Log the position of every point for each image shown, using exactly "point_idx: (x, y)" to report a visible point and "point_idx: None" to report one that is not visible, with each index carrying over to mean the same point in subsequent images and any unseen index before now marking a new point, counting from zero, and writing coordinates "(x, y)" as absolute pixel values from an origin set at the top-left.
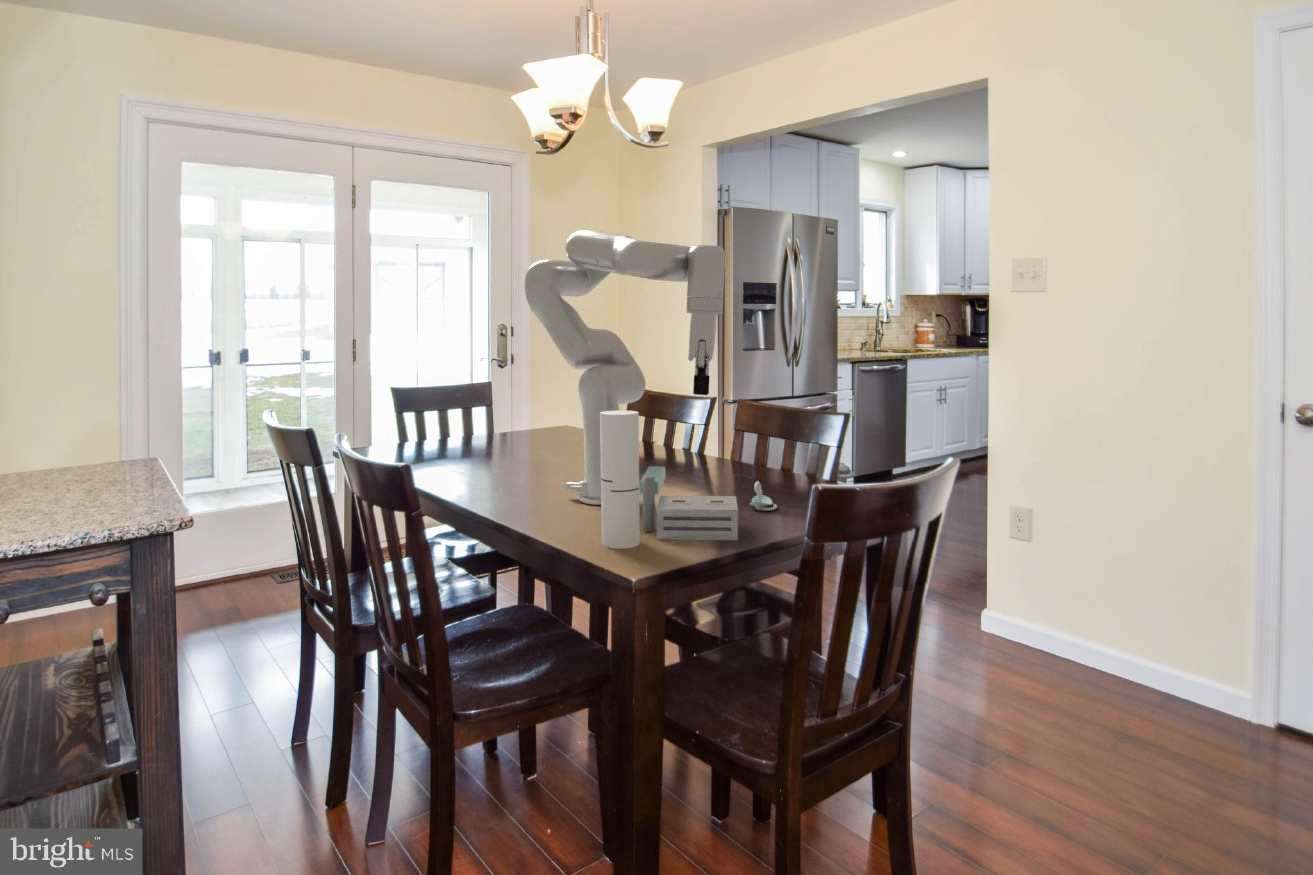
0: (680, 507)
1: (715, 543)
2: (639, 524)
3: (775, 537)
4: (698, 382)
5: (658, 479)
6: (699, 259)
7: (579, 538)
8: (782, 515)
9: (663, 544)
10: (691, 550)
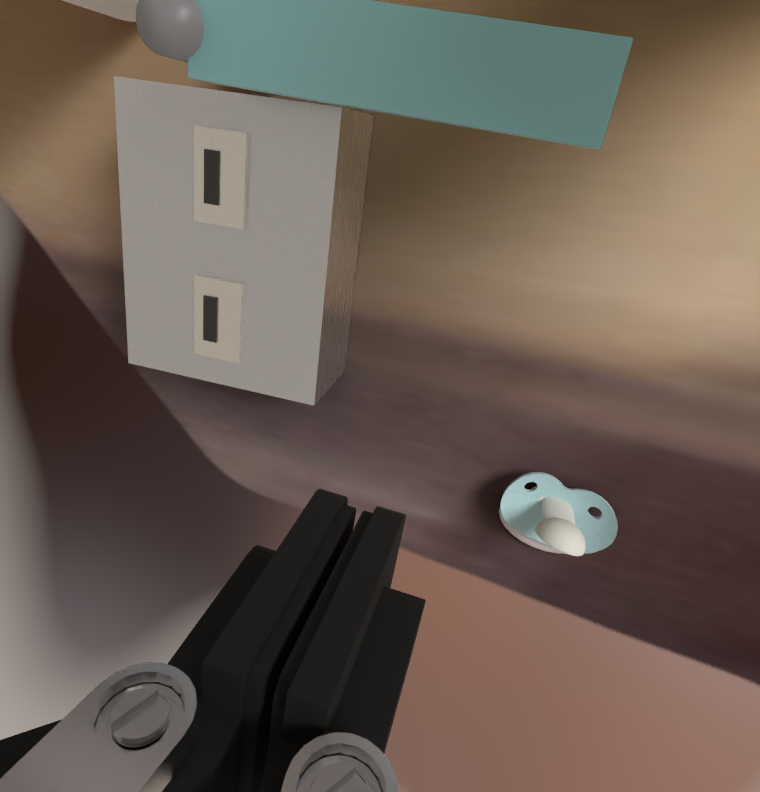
0: (142, 175)
1: None
2: (87, 7)
3: (215, 436)
4: (204, 619)
5: (242, 83)
6: None
7: None
8: (443, 528)
9: None
10: (84, 190)
